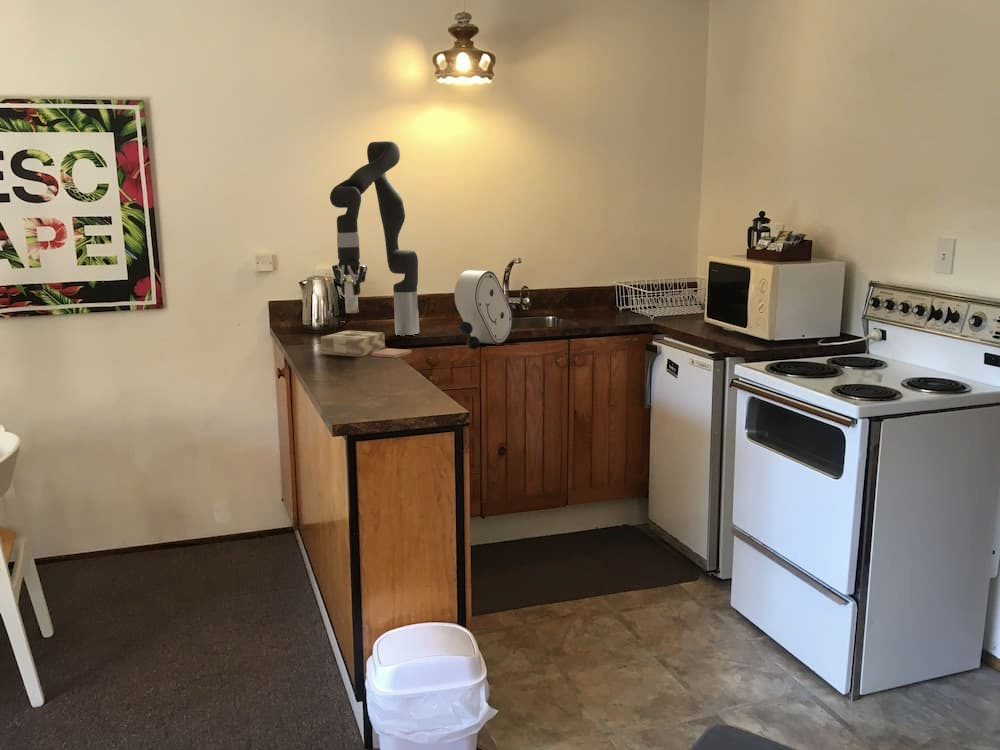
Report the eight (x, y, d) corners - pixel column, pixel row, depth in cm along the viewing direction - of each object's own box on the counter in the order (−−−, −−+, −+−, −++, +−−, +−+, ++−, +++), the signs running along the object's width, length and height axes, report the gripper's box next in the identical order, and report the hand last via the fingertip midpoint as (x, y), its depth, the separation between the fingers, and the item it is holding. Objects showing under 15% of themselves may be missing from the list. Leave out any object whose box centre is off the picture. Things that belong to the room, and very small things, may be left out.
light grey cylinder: (351, 311, 309) (349, 280, 306) (361, 311, 307) (359, 280, 304) (343, 313, 305) (341, 281, 303) (353, 313, 303) (351, 281, 301)
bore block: (348, 346, 319) (347, 330, 318) (385, 349, 312) (384, 332, 311) (321, 353, 305) (320, 336, 304) (359, 356, 298) (358, 339, 297)
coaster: (387, 351, 308) (387, 348, 308) (411, 352, 304) (411, 350, 304) (371, 355, 300) (371, 353, 299) (396, 357, 295) (395, 354, 295)
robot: (460, 309, 294) (489, 261, 306) (439, 308, 298) (469, 261, 311) (490, 368, 314) (516, 321, 327) (470, 366, 318) (497, 319, 331)
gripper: (371, 245, 301) (373, 294, 304) (338, 244, 307) (341, 292, 311) (358, 246, 294) (361, 296, 298) (325, 246, 301) (328, 295, 305)
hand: (351, 294), depth 304 cm, fingers closed on light grey cylinder, 4 cm apart
